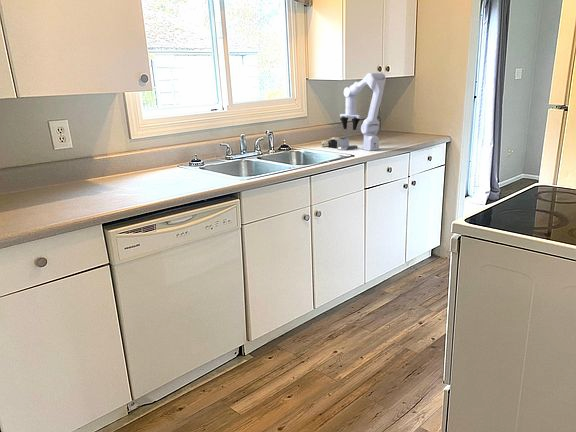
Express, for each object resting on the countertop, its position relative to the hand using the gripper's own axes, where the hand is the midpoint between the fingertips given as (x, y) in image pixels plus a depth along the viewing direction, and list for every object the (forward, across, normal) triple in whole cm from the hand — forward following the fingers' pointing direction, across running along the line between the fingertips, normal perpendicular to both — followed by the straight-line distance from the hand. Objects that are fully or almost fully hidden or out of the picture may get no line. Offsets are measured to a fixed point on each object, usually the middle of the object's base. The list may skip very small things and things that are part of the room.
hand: (349, 129), depth 293 cm
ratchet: (+10, +8, -12) cm, 18 cm away
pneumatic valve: (+8, -10, -15) cm, 20 cm away
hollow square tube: (+8, +7, -15) cm, 19 cm away
